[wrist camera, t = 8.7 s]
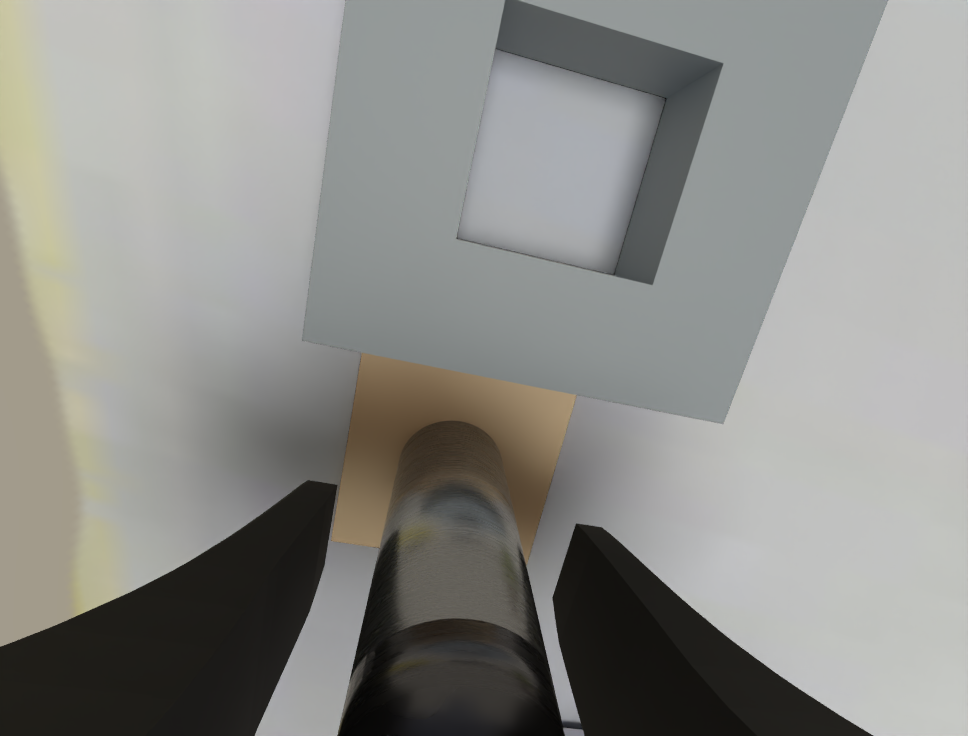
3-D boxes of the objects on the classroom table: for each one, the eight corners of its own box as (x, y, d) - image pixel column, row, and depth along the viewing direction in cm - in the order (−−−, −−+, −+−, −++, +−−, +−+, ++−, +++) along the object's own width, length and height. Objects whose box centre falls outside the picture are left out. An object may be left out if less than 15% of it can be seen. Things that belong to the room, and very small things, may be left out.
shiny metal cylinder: (499, 513, 14) (558, 853, 6) (398, 514, 14) (333, 866, 6) (505, 421, 13) (581, 682, 6) (398, 419, 13) (322, 690, 5)
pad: (523, 560, 15) (525, 569, 15) (334, 532, 14) (331, 541, 14) (574, 387, 14) (577, 391, 13) (365, 345, 13) (362, 349, 12)
